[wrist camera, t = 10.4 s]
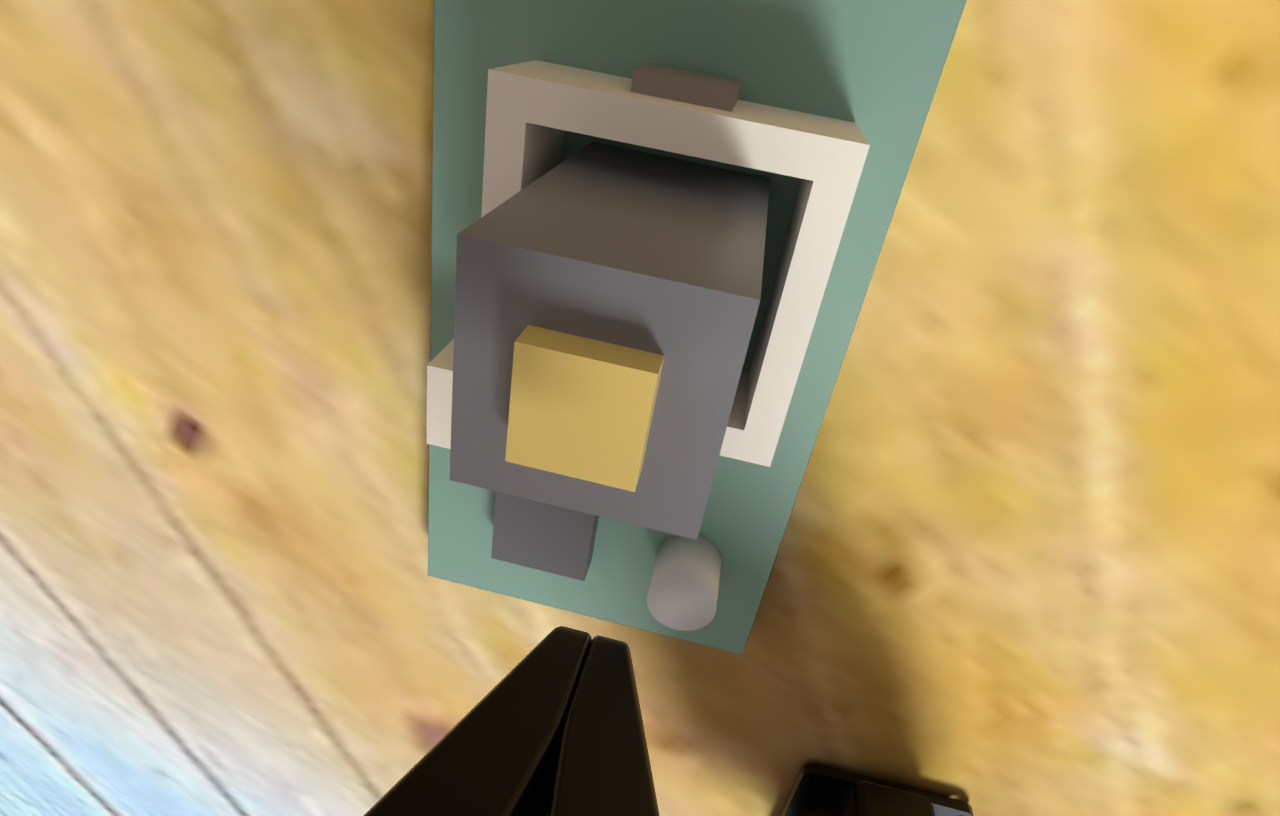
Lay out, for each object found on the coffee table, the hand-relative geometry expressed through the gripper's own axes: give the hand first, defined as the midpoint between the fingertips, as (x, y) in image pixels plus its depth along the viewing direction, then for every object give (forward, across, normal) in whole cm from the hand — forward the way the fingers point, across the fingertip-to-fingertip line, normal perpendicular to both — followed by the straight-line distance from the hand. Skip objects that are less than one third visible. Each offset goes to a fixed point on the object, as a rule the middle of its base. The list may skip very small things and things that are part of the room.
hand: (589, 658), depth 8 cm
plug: (+12, +1, -1) cm, 12 cm away
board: (+13, +2, +2) cm, 13 cm away
